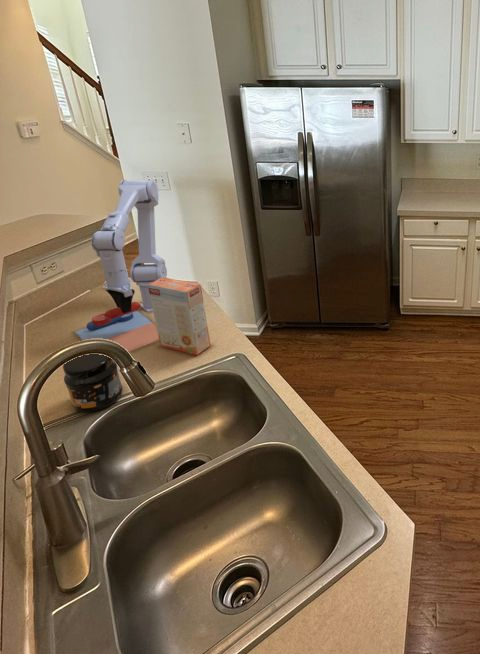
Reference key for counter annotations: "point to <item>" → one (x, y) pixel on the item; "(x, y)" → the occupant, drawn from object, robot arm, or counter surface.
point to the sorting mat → (125, 332)
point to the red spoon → (113, 314)
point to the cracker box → (179, 315)
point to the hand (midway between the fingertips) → (124, 310)
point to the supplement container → (92, 382)
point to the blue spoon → (118, 319)
